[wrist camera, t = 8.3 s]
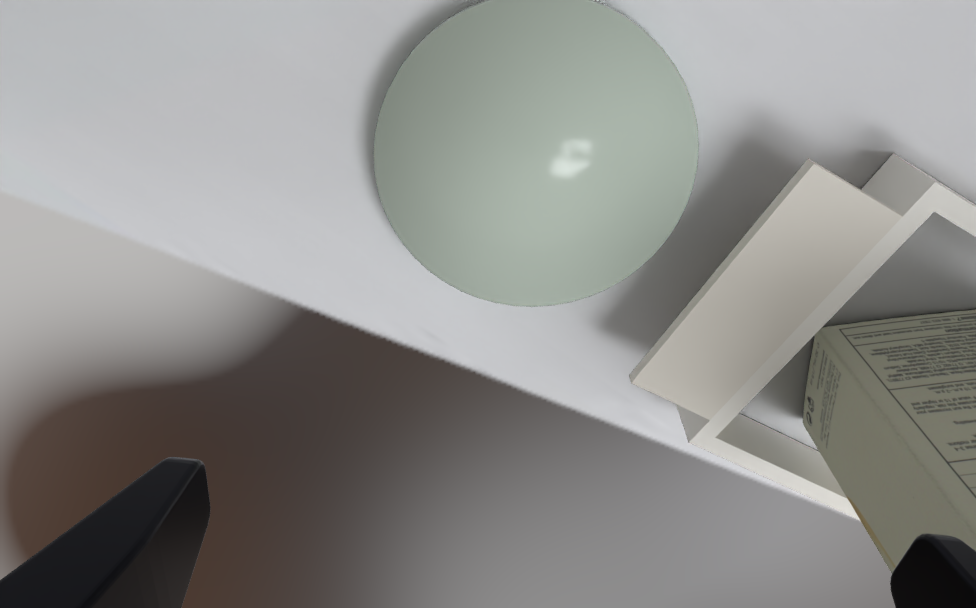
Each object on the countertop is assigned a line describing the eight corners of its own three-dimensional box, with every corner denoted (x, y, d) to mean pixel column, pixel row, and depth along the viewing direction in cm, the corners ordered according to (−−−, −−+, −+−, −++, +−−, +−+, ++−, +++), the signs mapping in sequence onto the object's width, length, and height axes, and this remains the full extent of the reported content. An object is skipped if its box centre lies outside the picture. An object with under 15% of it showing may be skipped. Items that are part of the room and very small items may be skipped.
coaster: (761, 99, 19) (768, 105, 18) (581, 338, 23) (583, 349, 22) (467, -82, 16) (466, -82, 16) (329, 217, 21) (325, 226, 20)
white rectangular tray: (1221, 359, 23) (1285, 402, 21) (971, 539, 27) (1006, 587, 26) (811, 100, 19) (845, 125, 17) (602, 365, 23) (611, 407, 21)
